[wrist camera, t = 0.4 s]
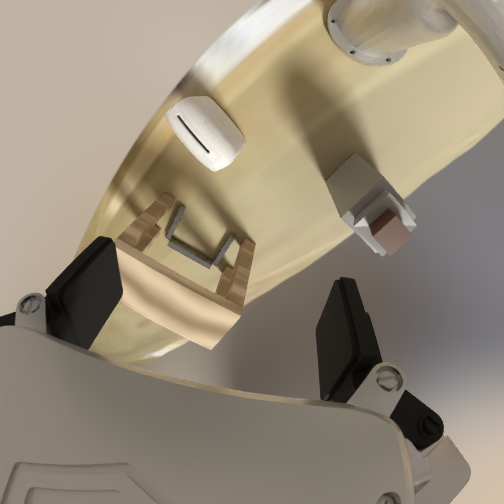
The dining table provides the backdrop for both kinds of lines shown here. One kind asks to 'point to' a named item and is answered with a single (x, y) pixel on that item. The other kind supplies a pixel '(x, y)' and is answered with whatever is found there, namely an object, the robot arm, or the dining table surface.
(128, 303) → the wooden display stand
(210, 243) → the dining table surface
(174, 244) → the seat guides
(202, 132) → the photo printer
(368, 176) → the beige rectangular block
